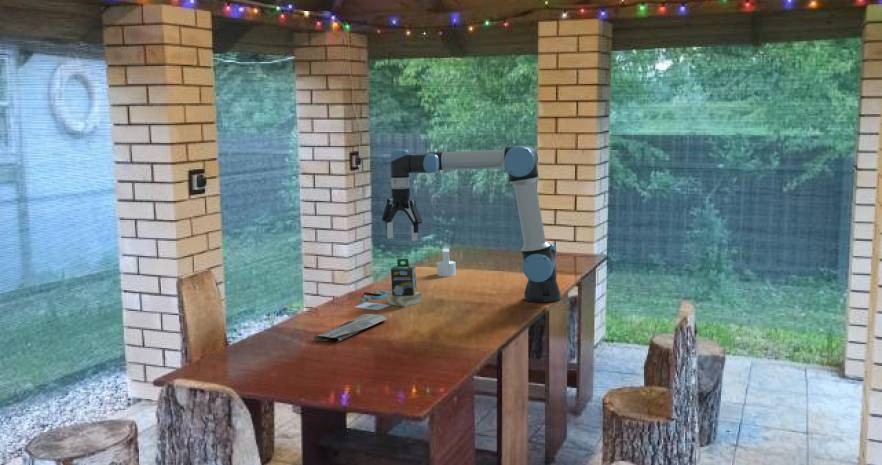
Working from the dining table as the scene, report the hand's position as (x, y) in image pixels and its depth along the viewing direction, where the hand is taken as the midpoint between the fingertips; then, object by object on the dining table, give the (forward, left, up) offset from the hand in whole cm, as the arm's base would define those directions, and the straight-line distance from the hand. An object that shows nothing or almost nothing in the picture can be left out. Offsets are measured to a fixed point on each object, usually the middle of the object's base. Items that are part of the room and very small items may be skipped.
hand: (402, 239), depth 348 cm
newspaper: (-14, +43, -27) cm, 53 cm away
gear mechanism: (+20, -2, -28) cm, 34 cm away
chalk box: (0, 0, -23) cm, 23 cm away
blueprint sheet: (+7, +12, -27) cm, 30 cm away
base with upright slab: (+24, -56, -27) cm, 67 cm away
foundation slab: (0, 0, -27) cm, 27 cm away
